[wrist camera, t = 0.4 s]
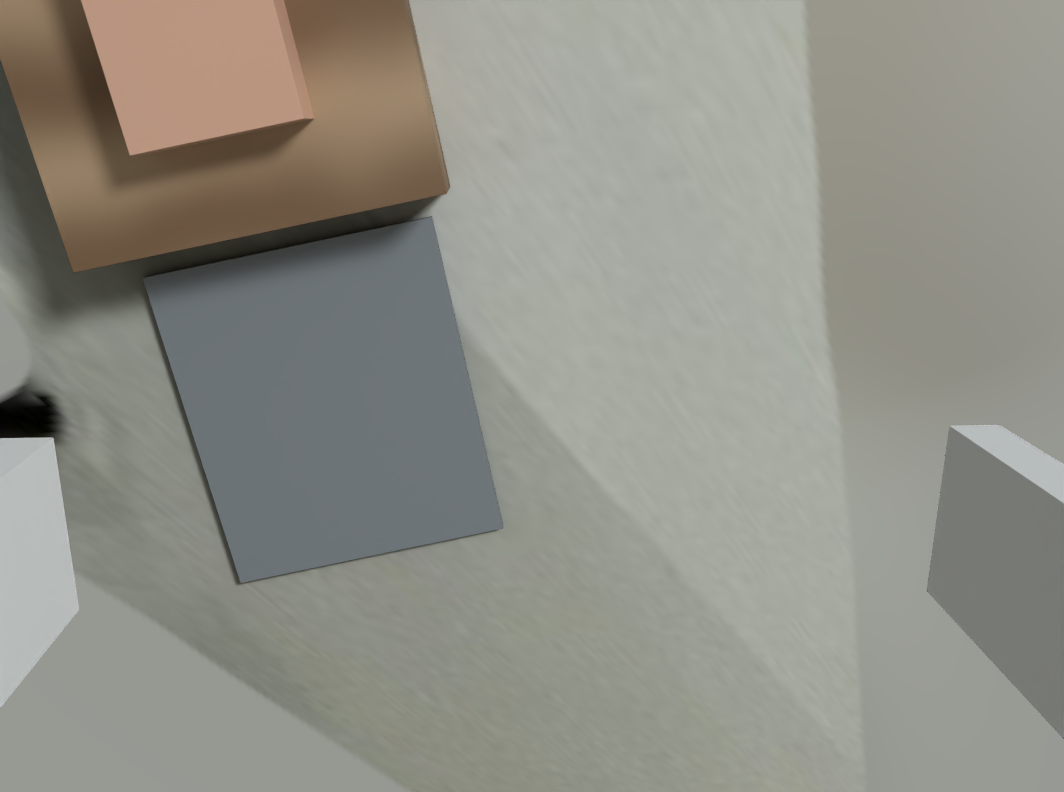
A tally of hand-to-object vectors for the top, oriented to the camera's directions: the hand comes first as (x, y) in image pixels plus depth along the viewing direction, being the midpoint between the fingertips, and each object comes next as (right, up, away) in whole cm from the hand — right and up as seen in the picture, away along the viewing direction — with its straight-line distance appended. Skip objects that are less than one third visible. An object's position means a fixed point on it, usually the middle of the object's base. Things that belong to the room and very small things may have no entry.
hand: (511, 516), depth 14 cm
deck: (-11, +15, +23) cm, 30 cm away
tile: (-11, +15, +18) cm, 26 cm away
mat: (-8, +1, +27) cm, 28 cm away
